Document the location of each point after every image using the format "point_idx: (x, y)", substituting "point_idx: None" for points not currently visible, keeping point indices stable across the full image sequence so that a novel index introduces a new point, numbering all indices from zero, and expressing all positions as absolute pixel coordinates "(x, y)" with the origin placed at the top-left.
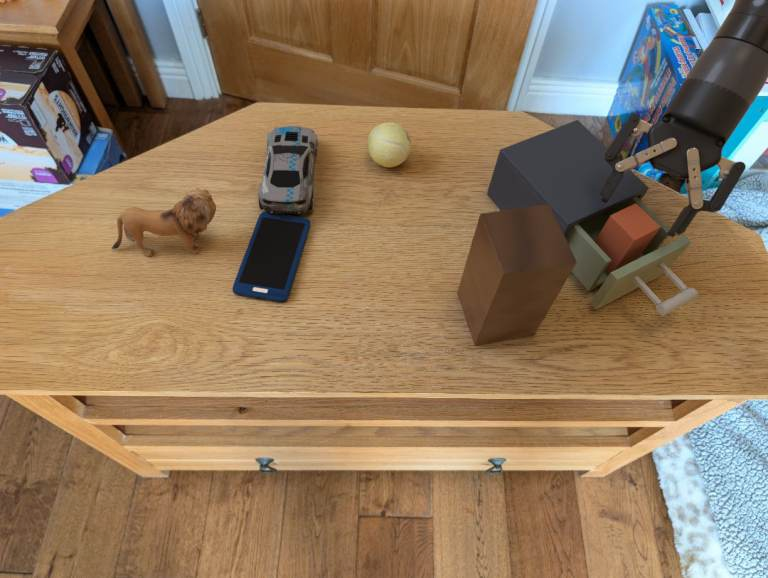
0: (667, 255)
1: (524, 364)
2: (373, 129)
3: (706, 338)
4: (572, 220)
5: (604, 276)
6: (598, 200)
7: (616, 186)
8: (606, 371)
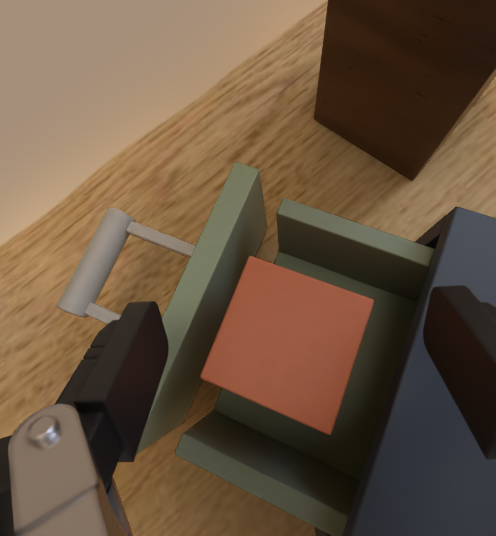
0: None
1: (296, 69)
2: None
3: (52, 321)
4: (457, 228)
5: None
6: None
7: (470, 349)
8: (181, 144)
